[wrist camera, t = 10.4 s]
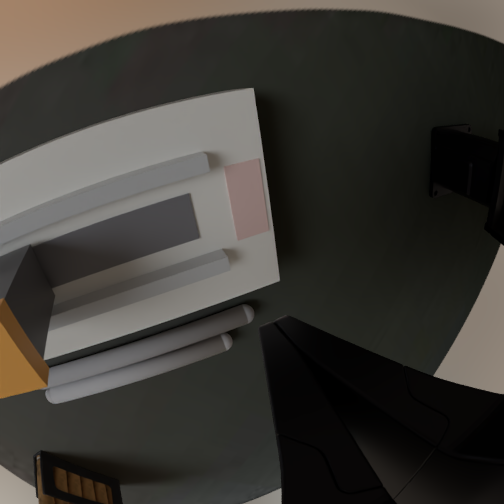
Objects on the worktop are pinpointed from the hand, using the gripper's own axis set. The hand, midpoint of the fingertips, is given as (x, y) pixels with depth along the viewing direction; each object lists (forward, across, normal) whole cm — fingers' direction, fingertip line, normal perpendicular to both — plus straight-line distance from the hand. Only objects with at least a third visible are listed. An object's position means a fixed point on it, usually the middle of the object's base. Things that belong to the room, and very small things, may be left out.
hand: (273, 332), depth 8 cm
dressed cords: (+12, +6, +9) cm, 16 cm away
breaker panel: (+12, +6, 0) cm, 13 cm away
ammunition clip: (+12, +20, +24) cm, 34 cm away
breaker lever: (+9, +10, 0) cm, 13 cm away
